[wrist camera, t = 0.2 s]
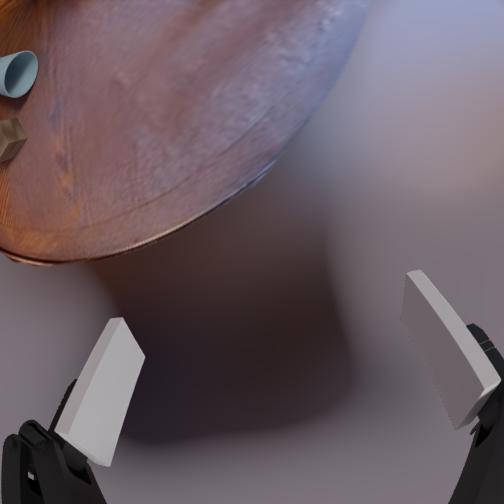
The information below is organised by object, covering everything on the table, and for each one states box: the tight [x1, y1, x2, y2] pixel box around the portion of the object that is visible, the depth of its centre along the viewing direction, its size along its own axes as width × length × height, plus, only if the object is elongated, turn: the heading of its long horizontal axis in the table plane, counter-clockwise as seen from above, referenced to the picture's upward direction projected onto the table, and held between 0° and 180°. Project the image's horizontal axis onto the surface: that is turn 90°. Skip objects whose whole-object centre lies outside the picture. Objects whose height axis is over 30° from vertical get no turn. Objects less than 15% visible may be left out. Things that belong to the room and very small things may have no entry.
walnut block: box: [0, 118, 27, 162], centre depth 30 cm, size 5×5×5 cm
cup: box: [0, 51, 38, 98], centre depth 24 cm, size 8×8×10 cm
